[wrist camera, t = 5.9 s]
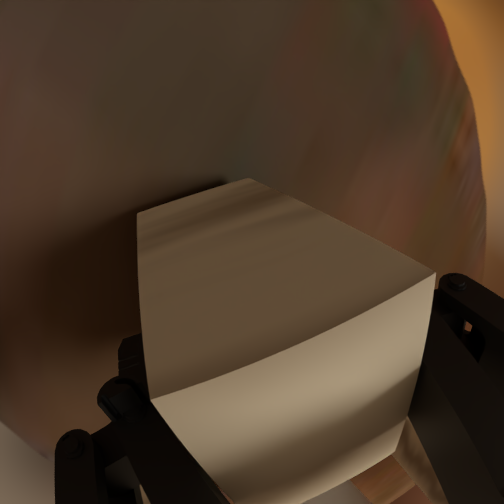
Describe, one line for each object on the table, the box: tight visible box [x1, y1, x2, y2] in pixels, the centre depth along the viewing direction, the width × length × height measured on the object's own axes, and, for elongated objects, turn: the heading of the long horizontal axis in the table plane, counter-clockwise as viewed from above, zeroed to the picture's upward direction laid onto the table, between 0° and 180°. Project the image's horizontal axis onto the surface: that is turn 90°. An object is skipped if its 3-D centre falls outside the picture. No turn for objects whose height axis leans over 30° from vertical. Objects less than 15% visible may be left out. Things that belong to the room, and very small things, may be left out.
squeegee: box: [137, 178, 436, 504], centre depth 13 cm, size 18×10×10 cm, turn 12°
